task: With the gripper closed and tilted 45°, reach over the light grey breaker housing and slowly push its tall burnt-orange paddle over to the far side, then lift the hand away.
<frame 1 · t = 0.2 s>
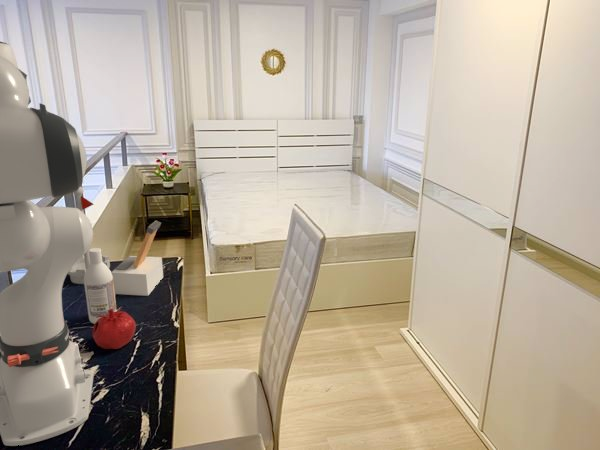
hand: (13, 184, 101), 39 cm above the table, tool pointing down, fingers open, 8 cm apart
pomegranate: (115, 342, 113), on the table
bath foam: (103, 319, 123), on the table
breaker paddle: (146, 244, 137), point 14 cm above the table, hinge at -25.0°
flag stand: (89, 277, 147), on the table
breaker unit: (140, 285, 142), on the table
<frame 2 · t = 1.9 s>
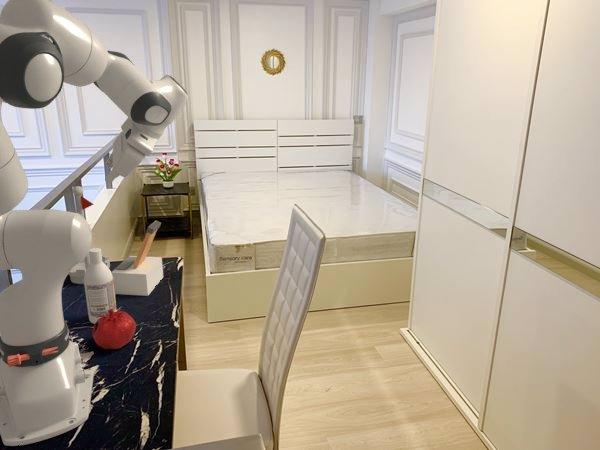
hand: (107, 173, 118), 38 cm above the table, tool tilted 40°, fingers open, 8 cm apart
nothing on the table moved.
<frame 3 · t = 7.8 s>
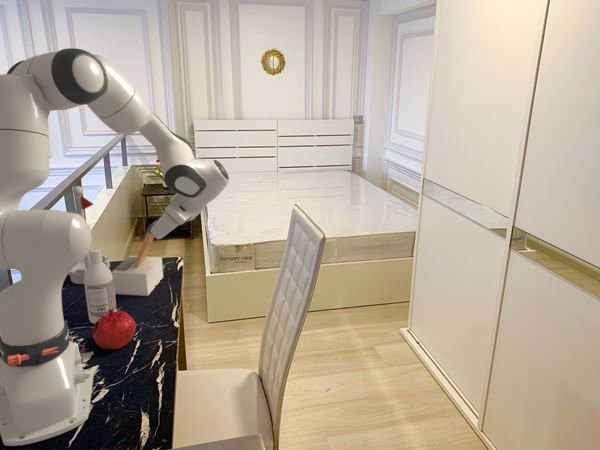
hand: (155, 235, 136), 17 cm above the table, tool tilted 45°, fingers closed, pressing on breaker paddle
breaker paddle: (146, 244, 137), point 14 cm above the table, hinge at -25.0°, touching gripper
everything else where it was.
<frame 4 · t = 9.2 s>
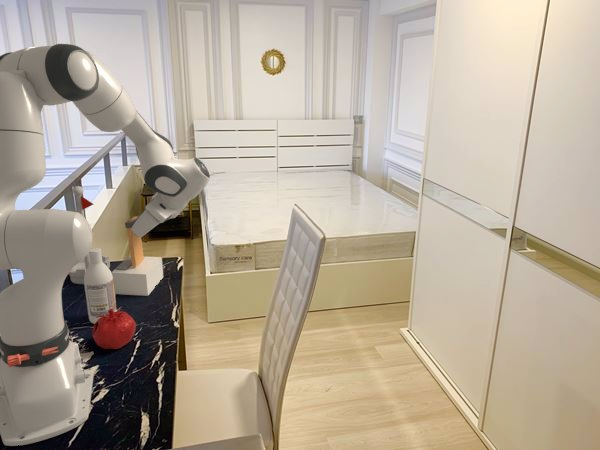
hand: (138, 233, 137), 17 cm above the table, tool tilted 45°, fingers closed, pressing on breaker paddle
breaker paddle: (135, 241, 137), point 15 cm above the table, hinge at 1.9°, touching gripper
everything else where it was.
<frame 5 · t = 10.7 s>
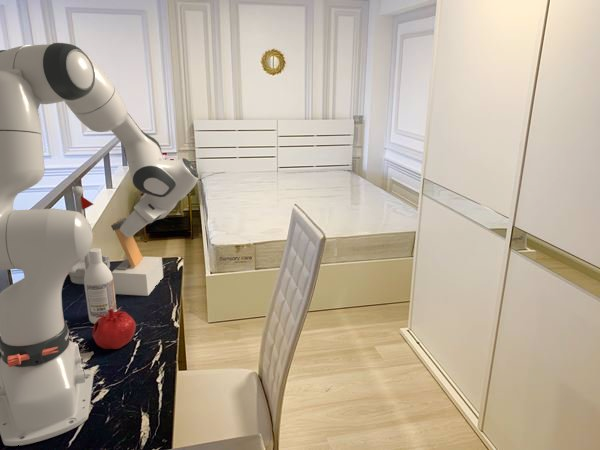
hand: (127, 233, 137), 17 cm above the table, tool tilted 45°, fingers closed, pressing on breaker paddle
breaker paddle: (128, 242, 138), point 14 cm above the table, hinge at 19.3°, touching gripper
everything else where it was.
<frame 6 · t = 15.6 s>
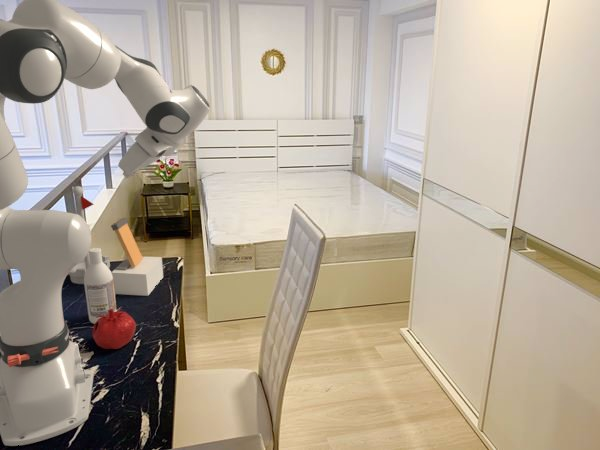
hand: (126, 175, 120), 37 cm above the table, tool tilted 45°, fingers closed
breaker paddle: (128, 242, 138), point 14 cm above the table, hinge at 19.4°
everything else where it was.
at the end: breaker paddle at +19° (first picture: -25°); bath foam moved 0.2 cm from its start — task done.
